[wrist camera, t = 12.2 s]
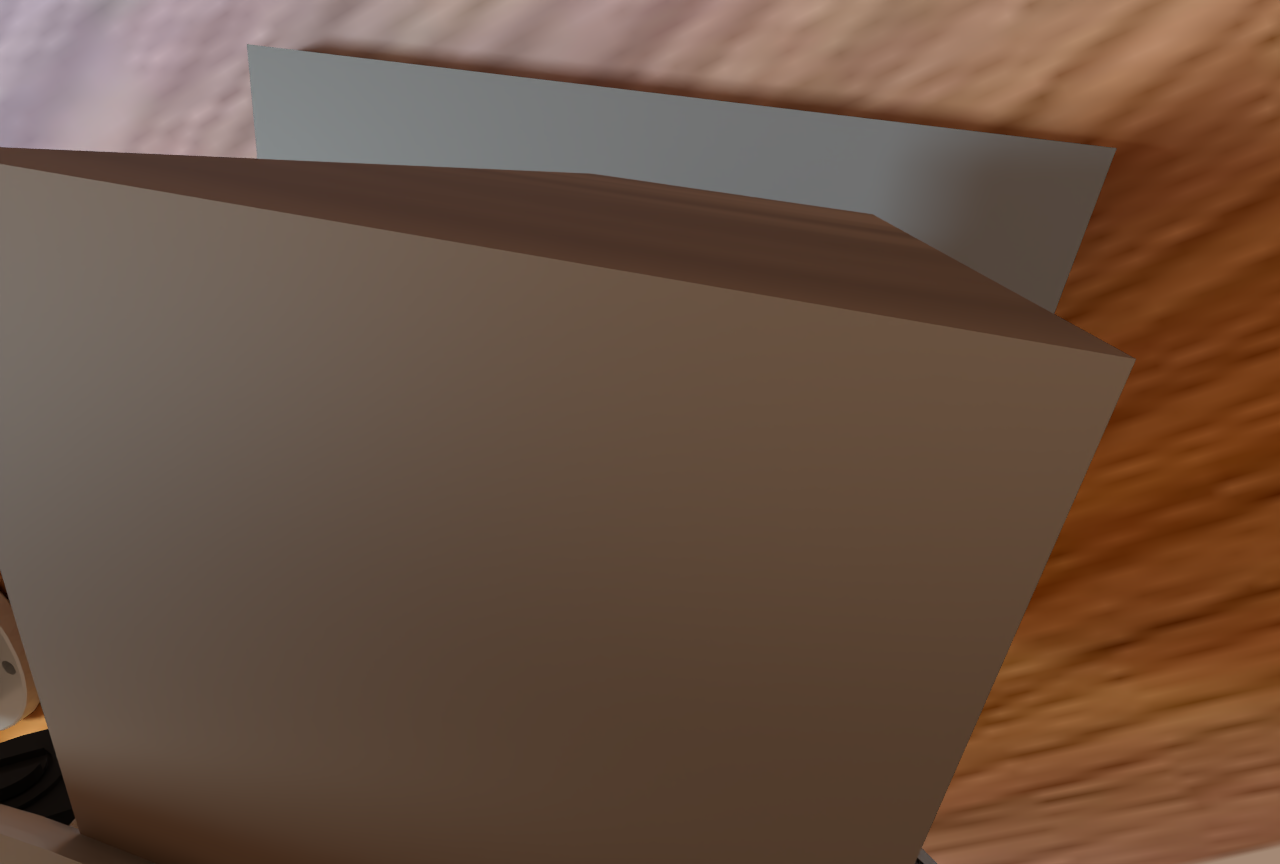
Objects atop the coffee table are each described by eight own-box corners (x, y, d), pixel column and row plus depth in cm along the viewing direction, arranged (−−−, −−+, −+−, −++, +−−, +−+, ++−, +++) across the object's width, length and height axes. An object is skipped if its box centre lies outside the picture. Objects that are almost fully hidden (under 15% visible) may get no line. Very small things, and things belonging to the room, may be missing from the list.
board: (320, 545, 27) (294, 565, 26) (285, 53, 20) (247, 44, 19) (890, 701, 23) (895, 734, 22) (1090, 151, 16) (1116, 148, 15)
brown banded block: (591, 173, 12) (-132, 141, 3) (872, 214, 11) (1136, 360, 2) (540, 736, 17) (234, 1345, 8) (725, 794, 16) (612, 1553, 7)
